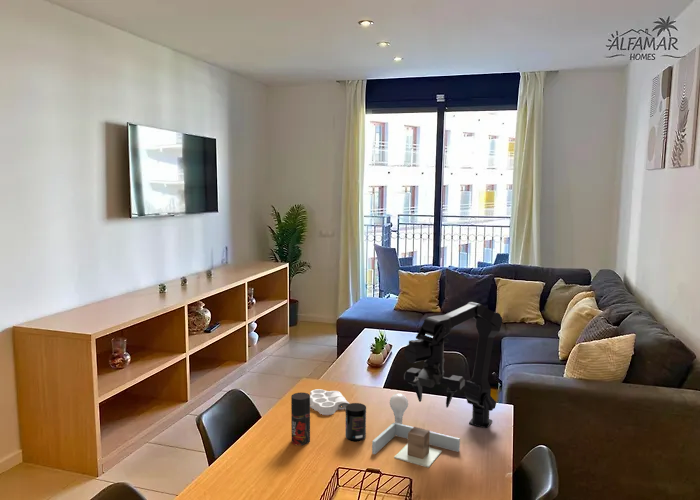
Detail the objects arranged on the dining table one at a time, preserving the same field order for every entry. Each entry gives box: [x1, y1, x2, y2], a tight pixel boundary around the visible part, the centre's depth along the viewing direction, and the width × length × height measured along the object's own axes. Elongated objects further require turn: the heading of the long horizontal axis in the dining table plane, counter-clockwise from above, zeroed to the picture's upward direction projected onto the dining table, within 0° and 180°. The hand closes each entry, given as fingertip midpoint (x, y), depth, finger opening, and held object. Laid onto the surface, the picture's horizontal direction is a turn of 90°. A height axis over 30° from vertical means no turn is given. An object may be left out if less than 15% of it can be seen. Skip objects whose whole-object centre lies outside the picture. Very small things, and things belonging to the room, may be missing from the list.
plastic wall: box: [371, 422, 461, 455], centre depth 160 cm, size 16×22×4 cm
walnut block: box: [407, 426, 431, 459], centre depth 158 cm, size 5×5×7 cm
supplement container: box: [344, 402, 367, 443], centre depth 169 cm, size 7×7×10 cm
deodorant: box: [290, 392, 311, 446], centre depth 166 cm, size 6×6×15 cm
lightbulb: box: [389, 392, 409, 424], centre depth 179 cm, size 6×6×11 cm
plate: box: [394, 442, 443, 469], centre depth 158 cm, size 11×11×1 cm
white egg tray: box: [309, 388, 350, 416], centre depth 196 cm, size 3×18×15 cm
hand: (433, 404), depth 167 cm, fingers open, 9 cm apart
